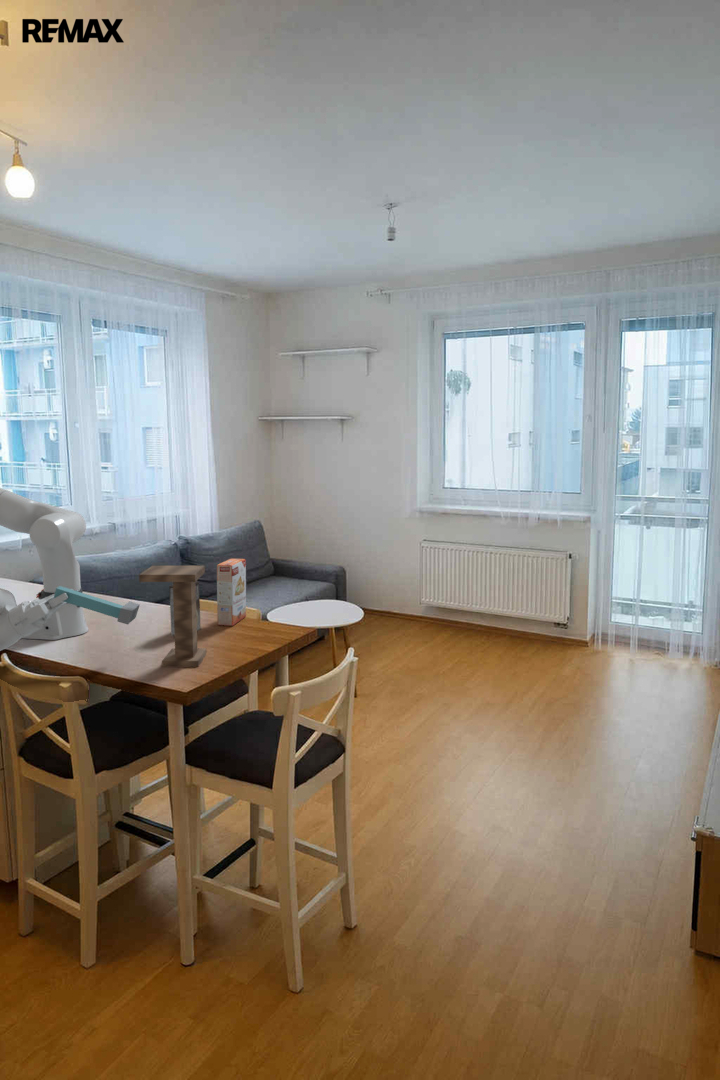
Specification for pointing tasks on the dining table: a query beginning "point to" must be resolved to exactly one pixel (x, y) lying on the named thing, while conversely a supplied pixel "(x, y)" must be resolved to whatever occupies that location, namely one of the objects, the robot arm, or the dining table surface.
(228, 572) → the cracker box
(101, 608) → the hammer
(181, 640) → the stand
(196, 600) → the coffee box
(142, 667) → the dining table surface
